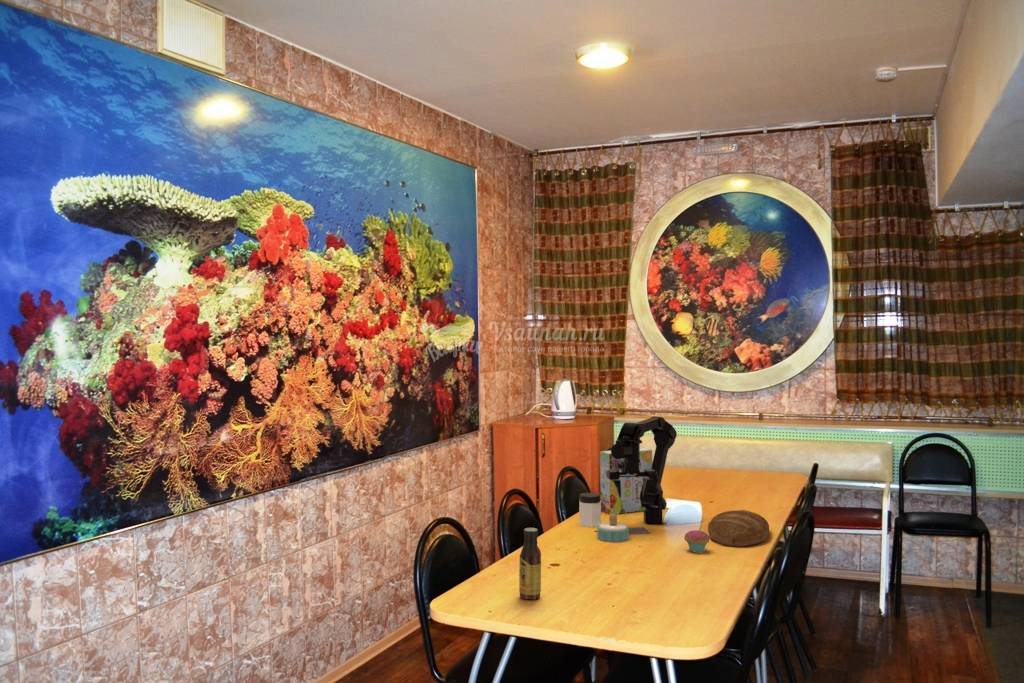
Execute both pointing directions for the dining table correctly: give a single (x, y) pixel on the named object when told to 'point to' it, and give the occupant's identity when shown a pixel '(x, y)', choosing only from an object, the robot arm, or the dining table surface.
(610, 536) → the bowl
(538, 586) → the sauce bottle
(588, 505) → the jar
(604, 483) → the snack box
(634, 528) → the mat
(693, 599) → the dining table surface
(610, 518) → the lid
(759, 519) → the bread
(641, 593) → the dining table surface
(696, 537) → the cupcake
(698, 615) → the dining table surface
